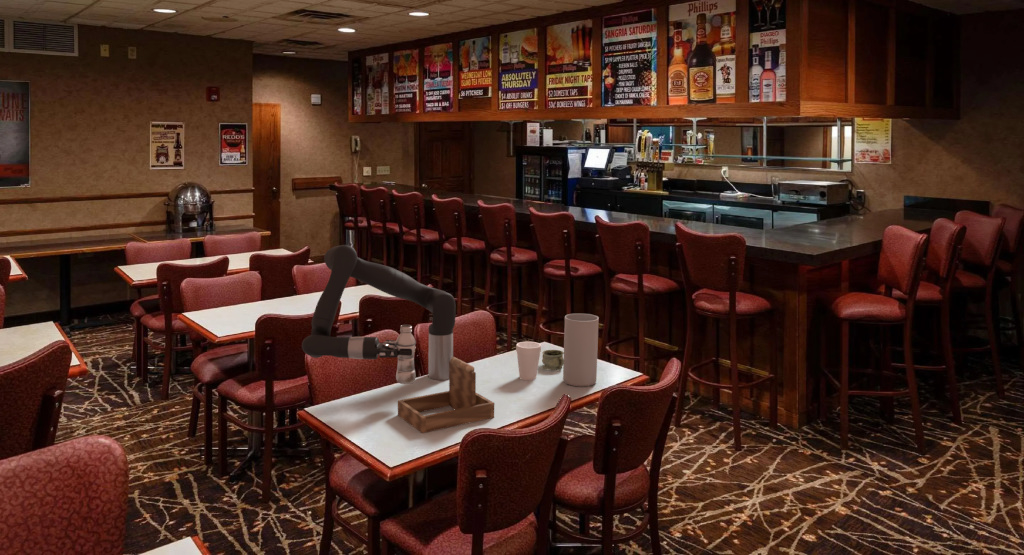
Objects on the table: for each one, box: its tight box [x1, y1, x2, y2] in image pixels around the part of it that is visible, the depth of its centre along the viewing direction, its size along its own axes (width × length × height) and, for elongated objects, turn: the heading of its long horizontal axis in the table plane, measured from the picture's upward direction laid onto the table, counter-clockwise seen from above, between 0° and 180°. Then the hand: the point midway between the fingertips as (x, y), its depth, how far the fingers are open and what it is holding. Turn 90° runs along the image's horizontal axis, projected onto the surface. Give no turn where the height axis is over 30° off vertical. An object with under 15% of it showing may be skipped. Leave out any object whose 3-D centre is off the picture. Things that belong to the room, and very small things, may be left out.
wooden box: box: [397, 356, 495, 434], centre depth 244 cm, size 18×26×18 cm
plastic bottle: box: [395, 324, 417, 385], centre depth 253 cm, size 6×7×20 cm
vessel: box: [541, 349, 564, 371], centre depth 300 cm, size 12×9×6 cm
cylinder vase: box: [562, 313, 600, 388], centre depth 281 cm, size 12×12×25 cm
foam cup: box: [515, 341, 542, 381], centre depth 286 cm, size 10×9×13 cm
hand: (413, 349), depth 253 cm, fingers closed on plastic bottle, 6 cm apart
